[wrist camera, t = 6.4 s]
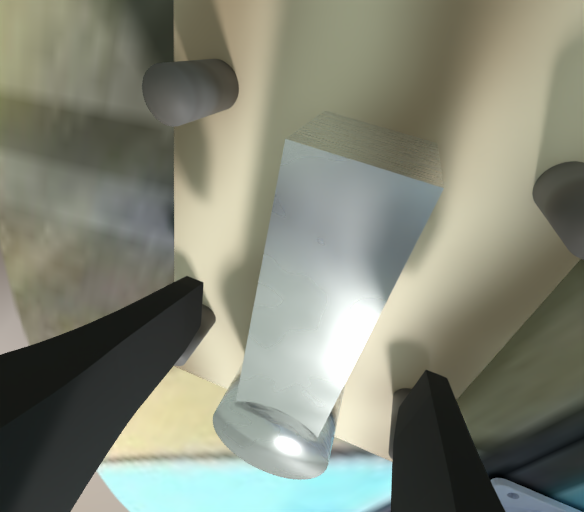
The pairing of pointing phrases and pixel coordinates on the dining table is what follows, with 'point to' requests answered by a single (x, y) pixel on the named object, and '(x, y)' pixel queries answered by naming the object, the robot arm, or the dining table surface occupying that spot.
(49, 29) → the dining table surface
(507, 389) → the dining table surface
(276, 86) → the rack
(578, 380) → the dining table surface
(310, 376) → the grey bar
